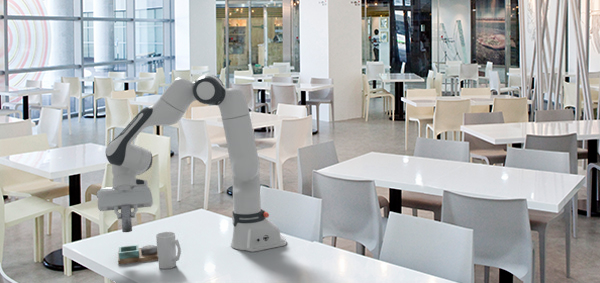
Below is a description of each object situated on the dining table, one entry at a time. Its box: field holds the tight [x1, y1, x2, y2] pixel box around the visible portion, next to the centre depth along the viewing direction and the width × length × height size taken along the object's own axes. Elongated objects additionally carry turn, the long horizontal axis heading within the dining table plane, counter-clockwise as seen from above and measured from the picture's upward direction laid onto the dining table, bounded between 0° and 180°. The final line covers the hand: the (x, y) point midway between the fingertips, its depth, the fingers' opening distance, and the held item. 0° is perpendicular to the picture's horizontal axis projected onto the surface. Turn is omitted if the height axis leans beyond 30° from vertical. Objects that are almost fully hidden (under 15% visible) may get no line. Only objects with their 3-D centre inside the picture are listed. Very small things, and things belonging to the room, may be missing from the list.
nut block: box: [117, 244, 158, 265], centre depth 219 cm, size 15×12×4 cm
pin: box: [120, 204, 133, 233], centre depth 215 cm, size 4×4×10 cm
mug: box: [155, 231, 182, 270], centre depth 208 cm, size 10×7×12 cm, turn 60°
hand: (126, 217), depth 215 cm, fingers closed on pin, 4 cm apart
